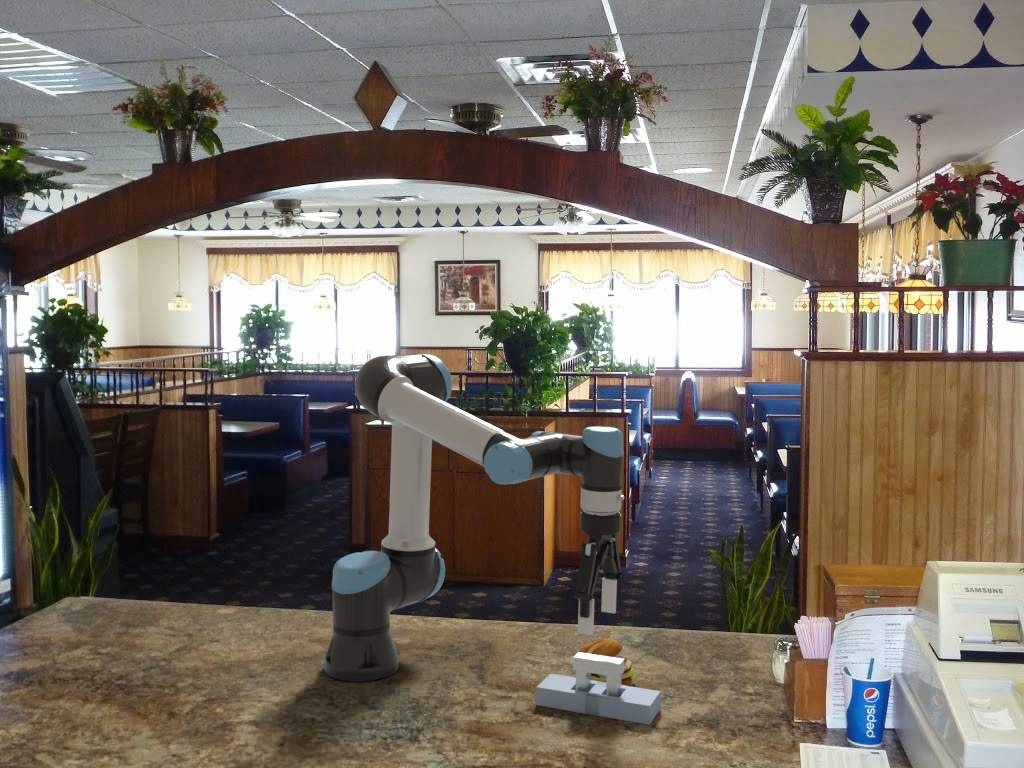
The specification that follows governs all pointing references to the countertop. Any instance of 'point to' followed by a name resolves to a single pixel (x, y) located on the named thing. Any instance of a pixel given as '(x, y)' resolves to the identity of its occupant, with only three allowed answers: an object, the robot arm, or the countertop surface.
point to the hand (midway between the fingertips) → (597, 622)
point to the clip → (598, 672)
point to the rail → (599, 699)
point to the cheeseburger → (611, 650)
